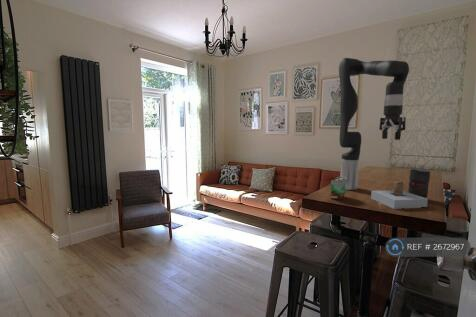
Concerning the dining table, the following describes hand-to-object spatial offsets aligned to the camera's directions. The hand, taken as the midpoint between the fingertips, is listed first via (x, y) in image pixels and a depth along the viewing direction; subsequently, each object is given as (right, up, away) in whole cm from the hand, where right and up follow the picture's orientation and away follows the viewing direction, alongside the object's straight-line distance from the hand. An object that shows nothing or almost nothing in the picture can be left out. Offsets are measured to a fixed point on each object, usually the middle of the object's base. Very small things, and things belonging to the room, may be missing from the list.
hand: (390, 139), depth 119 cm
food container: (-21, -30, +8) cm, 37 cm away
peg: (+3, -30, -1) cm, 31 cm away
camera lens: (+16, -30, +5) cm, 34 cm away
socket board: (+3, -30, -1) cm, 31 cm away
